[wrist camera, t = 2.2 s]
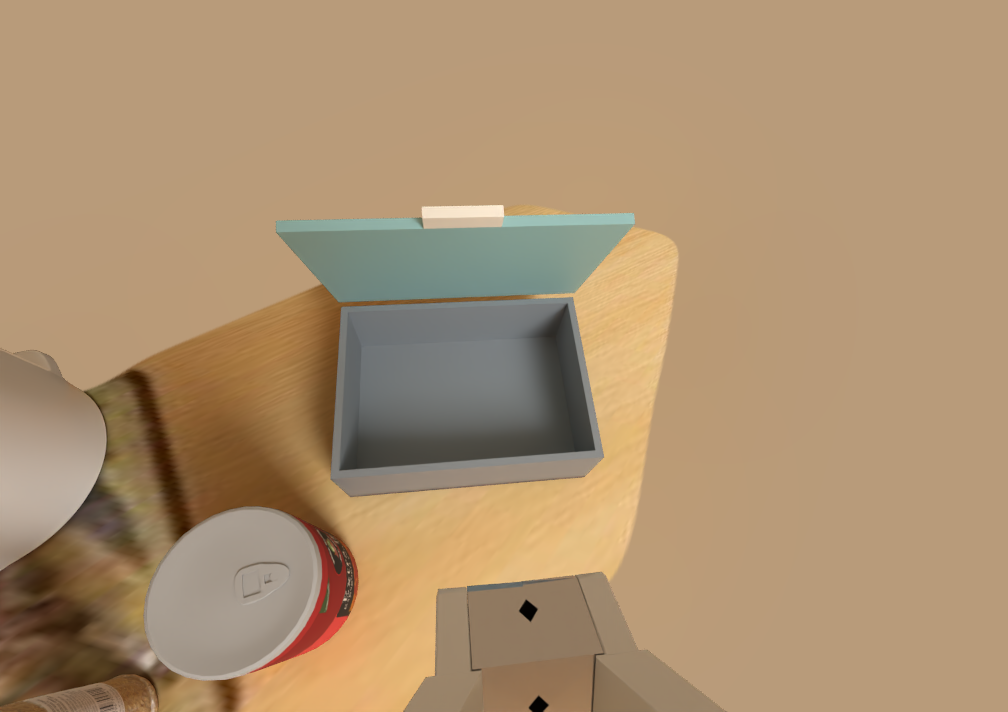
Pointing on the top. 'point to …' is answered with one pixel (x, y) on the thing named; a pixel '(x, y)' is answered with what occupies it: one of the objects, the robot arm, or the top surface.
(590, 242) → the mailer lid
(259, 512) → the canned food
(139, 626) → the top surface
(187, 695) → the top surface
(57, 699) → the sprinkles bottle
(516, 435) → the box
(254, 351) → the top surface
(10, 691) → the top surface
